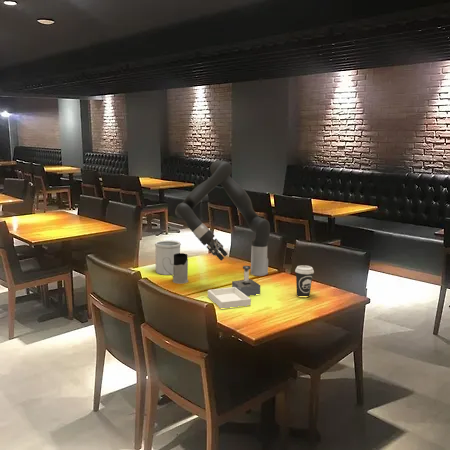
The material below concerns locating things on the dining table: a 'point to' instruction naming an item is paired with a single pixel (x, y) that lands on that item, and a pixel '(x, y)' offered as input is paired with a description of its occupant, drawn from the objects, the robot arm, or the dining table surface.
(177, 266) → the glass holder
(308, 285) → the coffee cup
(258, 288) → the bracket
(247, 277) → the steel pin
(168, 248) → the utensil holder
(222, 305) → the plastic tray
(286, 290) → the dining table surface
